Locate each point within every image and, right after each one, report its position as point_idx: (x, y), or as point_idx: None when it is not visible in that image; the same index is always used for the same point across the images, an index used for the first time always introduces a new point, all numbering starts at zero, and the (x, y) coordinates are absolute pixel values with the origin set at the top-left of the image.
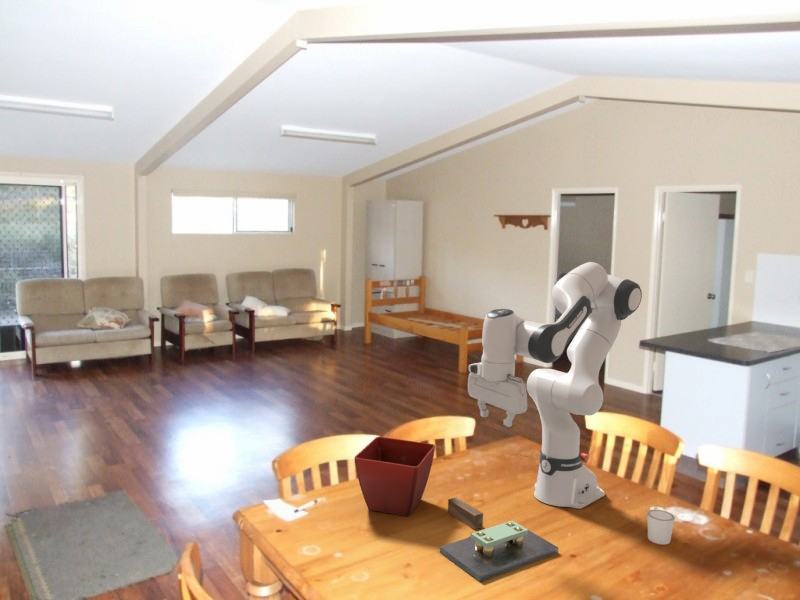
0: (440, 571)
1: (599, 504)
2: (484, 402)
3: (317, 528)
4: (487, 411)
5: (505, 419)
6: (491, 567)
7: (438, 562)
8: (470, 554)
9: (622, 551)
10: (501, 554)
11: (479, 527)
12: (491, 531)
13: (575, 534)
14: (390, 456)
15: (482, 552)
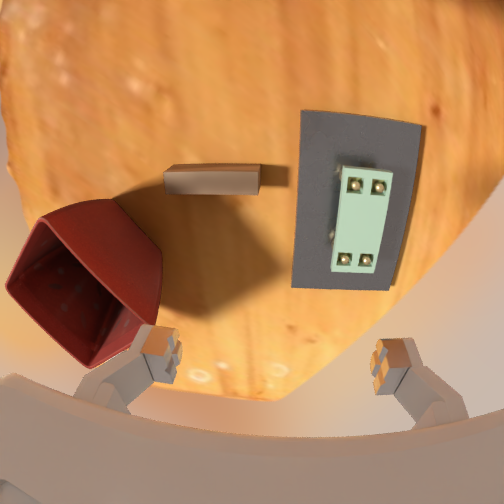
0: (332, 308)
1: None
2: (120, 402)
3: None
4: (168, 358)
5: (386, 390)
6: (386, 264)
7: (312, 298)
8: None
9: (467, 38)
10: None
11: (260, 172)
12: (351, 237)
13: (388, 37)
14: (35, 257)
15: None
